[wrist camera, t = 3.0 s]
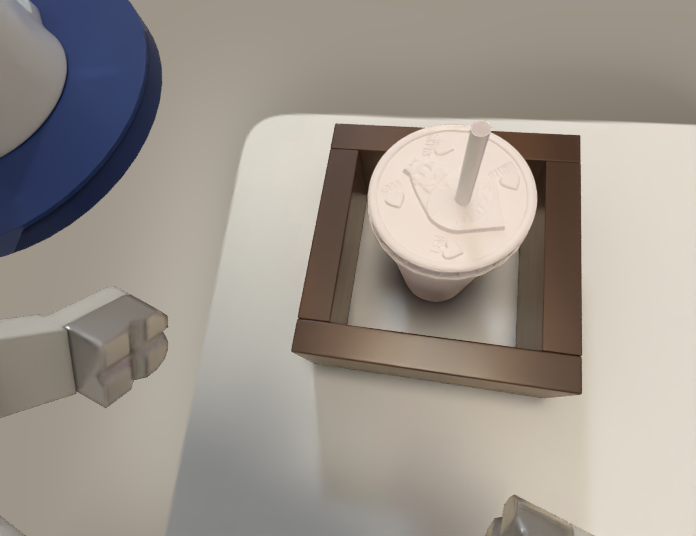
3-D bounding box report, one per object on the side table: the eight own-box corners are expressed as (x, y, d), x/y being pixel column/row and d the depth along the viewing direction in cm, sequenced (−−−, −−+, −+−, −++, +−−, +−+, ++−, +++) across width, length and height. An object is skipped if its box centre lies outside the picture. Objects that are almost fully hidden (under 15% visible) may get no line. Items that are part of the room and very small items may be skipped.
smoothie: (444, 348, 24) (490, 270, 11) (358, 278, 26) (307, 138, 13) (514, 264, 25) (634, 96, 12) (426, 202, 27) (444, 0, 14)
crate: (313, 363, 24) (290, 351, 20) (347, 171, 28) (335, 123, 23) (545, 398, 22) (582, 394, 18) (549, 184, 26) (580, 134, 21)
